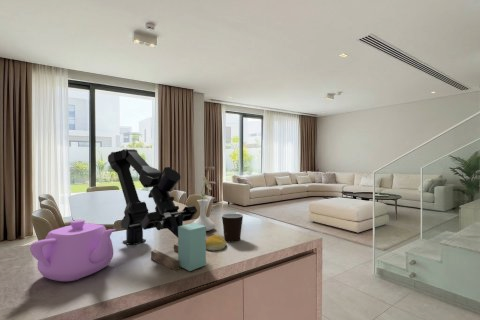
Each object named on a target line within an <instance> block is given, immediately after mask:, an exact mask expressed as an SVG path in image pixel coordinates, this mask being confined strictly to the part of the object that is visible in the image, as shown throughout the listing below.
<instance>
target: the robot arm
mask: <svg viewBox="0 0 480 320" xmlns="http://www.w3.org/2000/svg"><path fill="white" fill-rule="evenodd" d="M107 161H108V163H109V165H110V168H111V170H113V171H114V172H115V173H117V177H118V180H119V184H120V186H121V191H122V193H123V197H124V200H125V204H126V206H125V208H124V211H123V213H124V216H123V217H122V219H121V220H120V227H121V229H125V231H126V232H125V234H126V237H125V238H126V239H125V240H122V243H124V244H126V245H130V246H134V245H137V244H138V245H139V244H140V243H141V244H142V243H144V242H147V239H146V238H144V231H143V230H149V229H154V228H155V229H156V230H157V231H161V230H163V229H167V230H169V231H170V232H171V233H172V234H173V235H174V236H175V237H176V238H177V239H178V226H182V225H183V223H184V222H186V221H191V220H192V219H193V218H194V216H195V215H196V214H197V213H198V209H197V207H196V206H195V205H188V206H184V208H183V209H182V210H181V211H178V210H180V207H179V205H176V204H175V202H174V200H175V197H174V196H171V193H170V192H171V191H173V190H174V189H175V187H176V185H177V184H178V183H179V182H180V180H181V174H180V173H179V172H178V171H177V170H175V169H172V168H171V167H170V166H165V167H164V169H163V170H162V171H161V170H159V169H157V168H155V167H152V166H151V165H149V164H148V163H147V161H146V160H145V159H144V158H143V157H142V156H141V155H140V154H139V152H138V150H137V149H135V148H124V149H121V150H117V151H112V152H110V153H109V154H108V155H107ZM131 167H132V168H133V169H134V170H135V172H136V174H138V175H139V177H138V180H139V183H140V184H141V185H142V187H143V188H146V189H147V188H151V189H150V190H149V193H148V198H149V199H153V202H154V205H155V208H154V209H155V210H154V211H153V212H151V211H150V212H149V209H148V207H147V203H146V201H141V200H140V198H139V195H138V192H137V189H136V186H135V183H134V179H133V177H132V172H131V170H130V169H131Z"/></svg>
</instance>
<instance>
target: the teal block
mask: <svg viewBox="0 0 480 320" xmlns="http://www.w3.org/2000/svg"><path fill="white" fill-rule="evenodd" d="M206 234H207V231H206V226H203V225H200V224H196V223H193V222H191V223H187V224H184V225H182V226H178V238H177V243H178V261H179V266H181V267H183V269H185V270H187V271H188V272H191V271H194V270H196V269H199V268H202V267H204V266H206V265H207V249H206V240H207V235H206Z"/></svg>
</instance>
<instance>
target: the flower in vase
mask: <svg viewBox="0 0 480 320" xmlns="http://www.w3.org/2000/svg"><path fill="white" fill-rule="evenodd" d="M201 178H202V181H203V183H204V184H203V187H202V189H201V191H200V193H201V196H200V198H201V199H197V200H196V201H197V202H198V205H199V209H200V210H199V216H198V217H197V218H196V219H195V220H194V221H193V222H192V223H196V224H200V225H203V226H206V232H208V231H211V230H213V229H214V228H215V227H216V224H215V223H214V222H213V221H212V220H211V219H210V218H208V217H207V215H206V205H207V203H208V201H209V199H204V197H205V196H207V194H206V193H203V190H204V188H205V186H206V188H207V189H209V190H210V191H212V190H213V189H212V185H211V184H210V181H209V180H208V179H207V178H206V176H204V175H202V177H201Z"/></svg>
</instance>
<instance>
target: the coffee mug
mask: <svg viewBox="0 0 480 320" xmlns="http://www.w3.org/2000/svg"><path fill="white" fill-rule="evenodd" d="M243 218H244V214H241V213H236V212H235V213H233V212H229V213H224V214H222V215H221V221H222V228H223V229H222V231H223V238H224V239H225V241H226V243H238V242H240V241H241V236H242V235H241V233H242V226H243Z"/></svg>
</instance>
